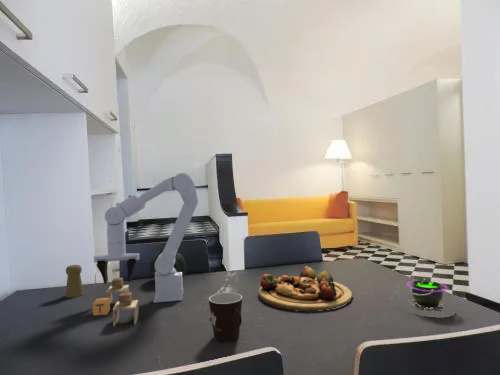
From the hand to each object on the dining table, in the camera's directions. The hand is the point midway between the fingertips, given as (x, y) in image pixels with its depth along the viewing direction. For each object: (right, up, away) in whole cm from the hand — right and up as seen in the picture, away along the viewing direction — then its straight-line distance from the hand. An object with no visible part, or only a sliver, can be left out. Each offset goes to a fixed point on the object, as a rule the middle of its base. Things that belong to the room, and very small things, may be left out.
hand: (117, 281), depth 118 cm
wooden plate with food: (+64, -6, +2) cm, 64 cm away
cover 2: (+9, -7, -17) cm, 20 cm away
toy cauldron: (+99, -5, -14) cm, 100 cm away
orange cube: (-1, -7, -9) cm, 12 cm away
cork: (-19, -8, +9) cm, 23 cm away
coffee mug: (+39, -6, -30) cm, 50 cm away
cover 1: (0, -7, 0) cm, 7 cm away
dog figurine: (+38, -6, -8) cm, 39 cm away
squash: (+12, -7, +25) cm, 28 cm away
